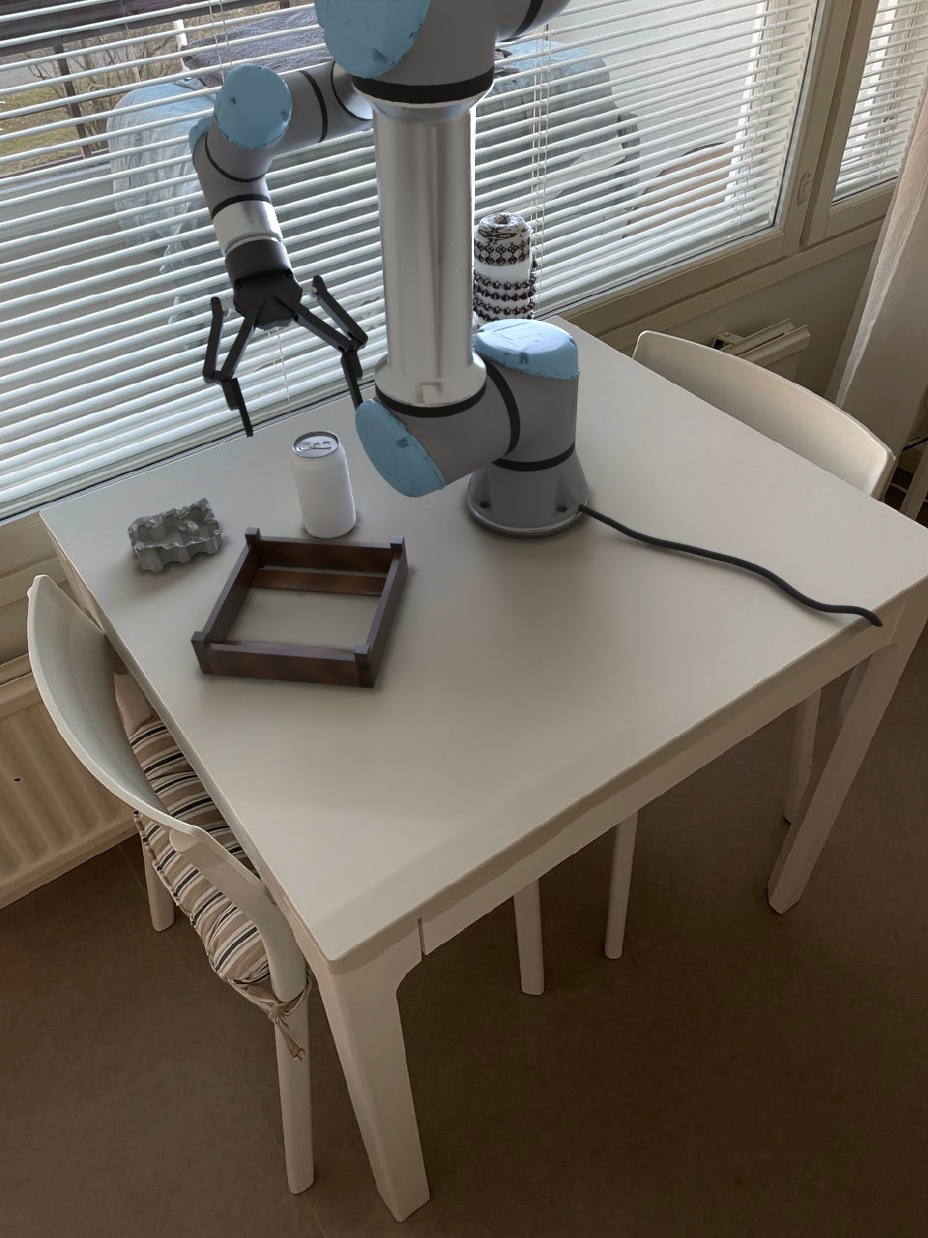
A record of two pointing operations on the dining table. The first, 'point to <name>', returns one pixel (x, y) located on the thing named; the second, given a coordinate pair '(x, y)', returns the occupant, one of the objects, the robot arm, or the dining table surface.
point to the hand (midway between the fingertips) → (305, 420)
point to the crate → (311, 554)
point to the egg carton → (175, 535)
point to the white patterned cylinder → (502, 269)
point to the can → (323, 484)
